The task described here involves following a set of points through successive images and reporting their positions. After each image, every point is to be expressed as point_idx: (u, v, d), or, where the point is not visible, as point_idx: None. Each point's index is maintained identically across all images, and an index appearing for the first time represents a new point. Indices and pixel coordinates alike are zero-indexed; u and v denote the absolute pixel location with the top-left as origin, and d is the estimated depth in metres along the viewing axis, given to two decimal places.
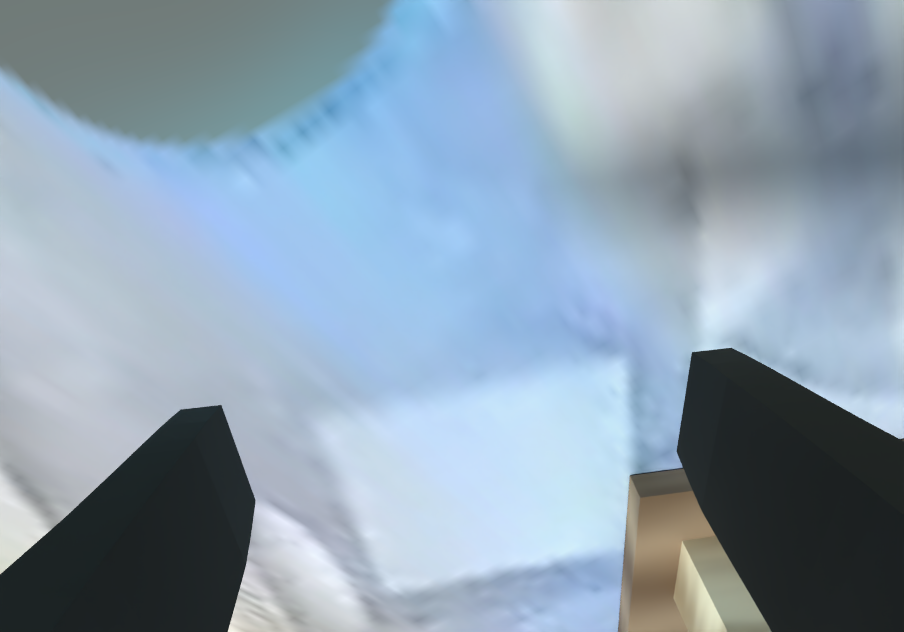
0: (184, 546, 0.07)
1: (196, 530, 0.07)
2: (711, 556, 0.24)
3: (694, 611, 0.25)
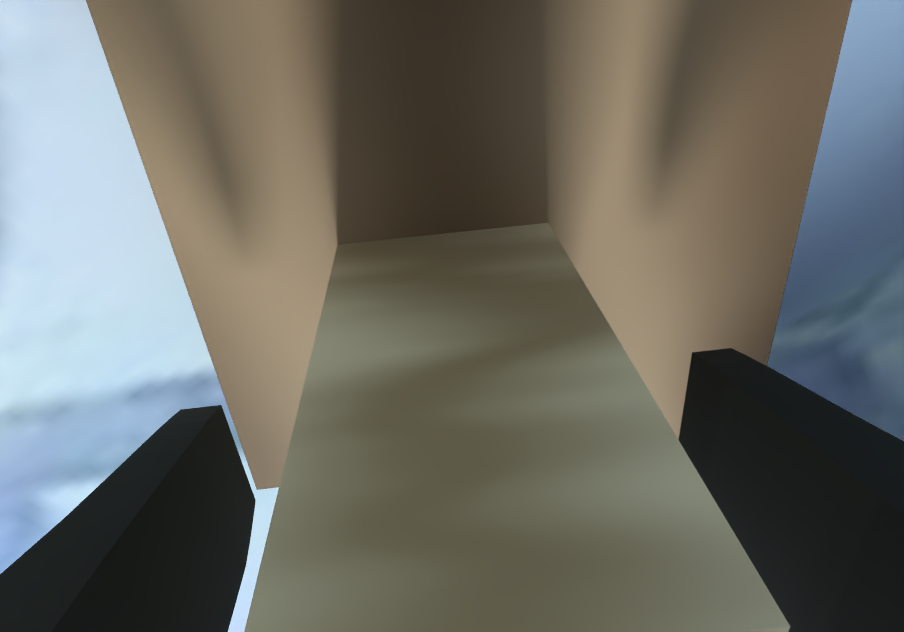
0: (185, 545, 0.07)
1: (196, 530, 0.07)
2: None
3: None
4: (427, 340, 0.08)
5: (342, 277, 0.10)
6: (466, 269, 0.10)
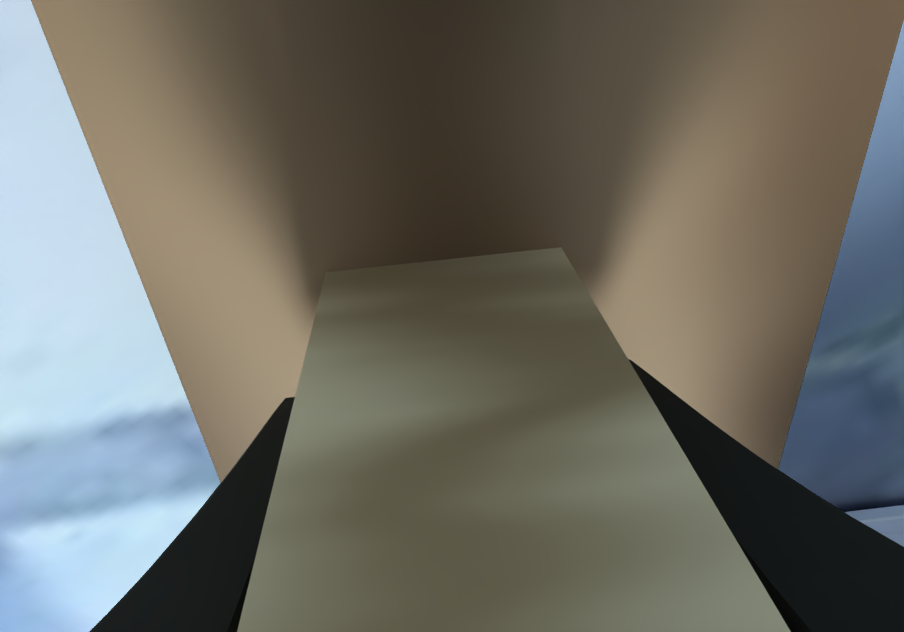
0: None
1: None
2: None
3: None
4: (426, 399, 0.07)
5: (329, 313, 0.09)
6: (471, 305, 0.08)
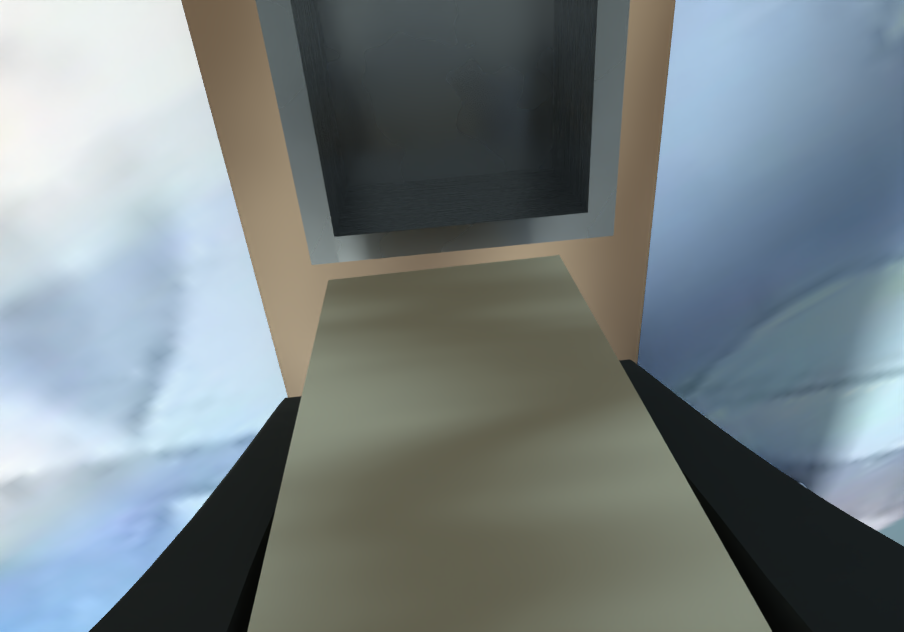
0: None
1: None
2: None
3: None
4: (427, 407, 0.07)
5: (332, 321, 0.09)
6: (470, 313, 0.09)
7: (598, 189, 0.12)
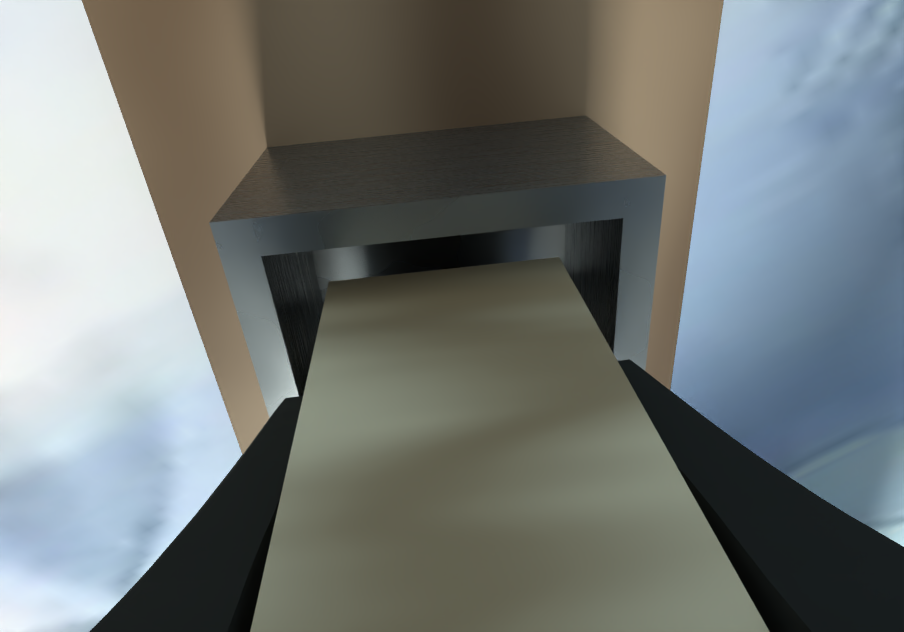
0: None
1: None
2: None
3: None
4: (428, 408, 0.07)
5: (333, 323, 0.09)
6: (470, 315, 0.09)
7: None
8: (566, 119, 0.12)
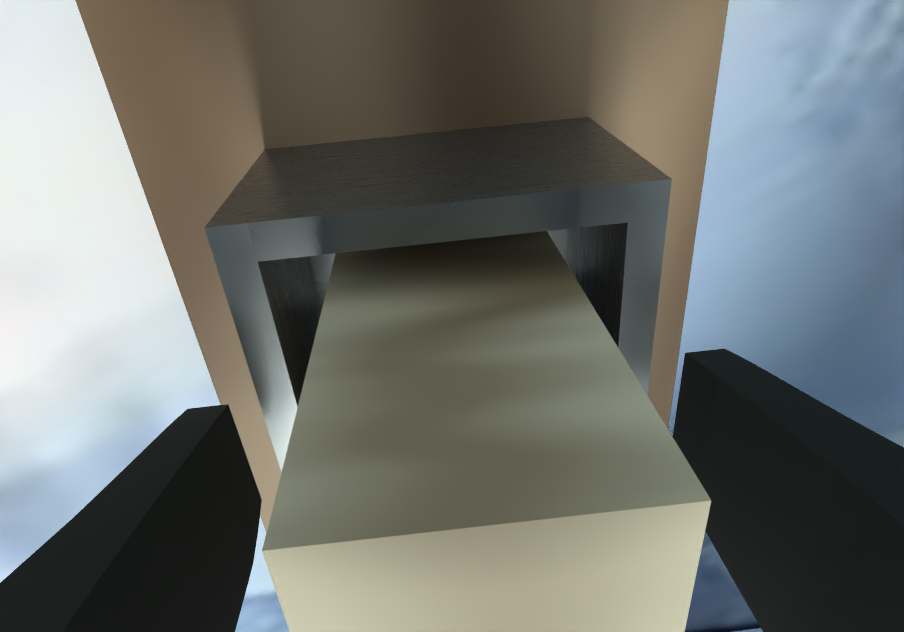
0: (193, 544, 0.07)
1: (204, 529, 0.07)
2: None
3: None
4: (423, 303, 0.09)
5: (346, 253, 0.11)
6: (458, 247, 0.11)
7: None
8: (568, 121, 0.12)
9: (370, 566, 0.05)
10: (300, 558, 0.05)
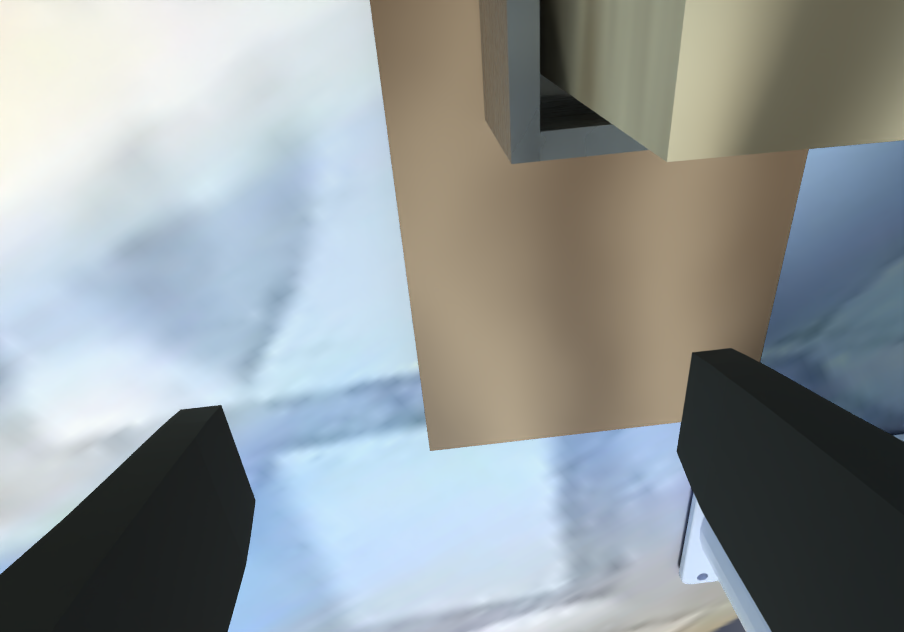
0: (186, 545, 0.07)
1: (196, 530, 0.07)
2: (548, 39, 0.13)
3: None
4: None
5: None
6: None
7: None
8: None
9: None
10: None
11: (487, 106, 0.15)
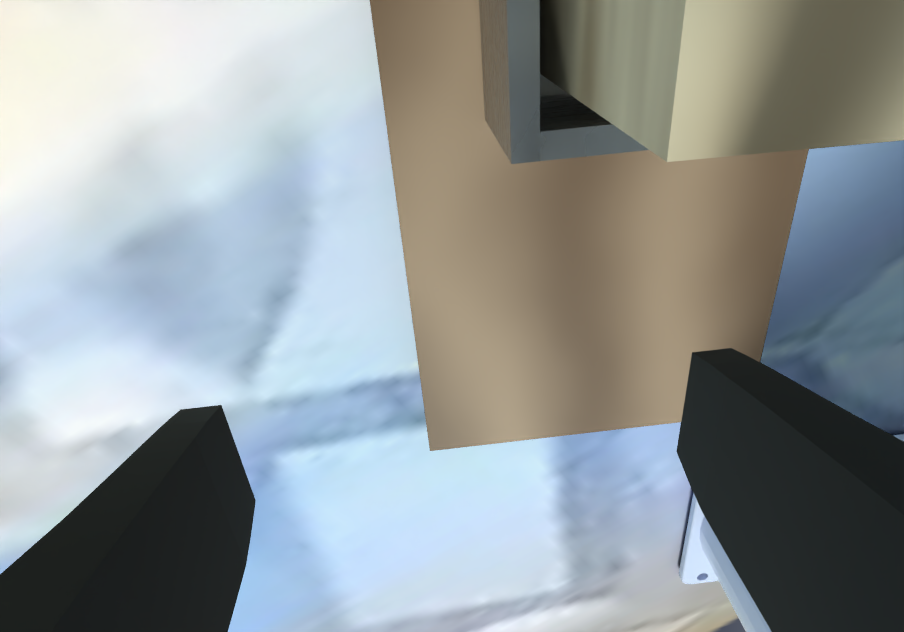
0: (186, 545, 0.07)
1: (196, 530, 0.07)
2: (548, 39, 0.13)
3: None
4: None
5: None
6: None
7: None
8: None
9: None
10: None
11: (487, 106, 0.15)
